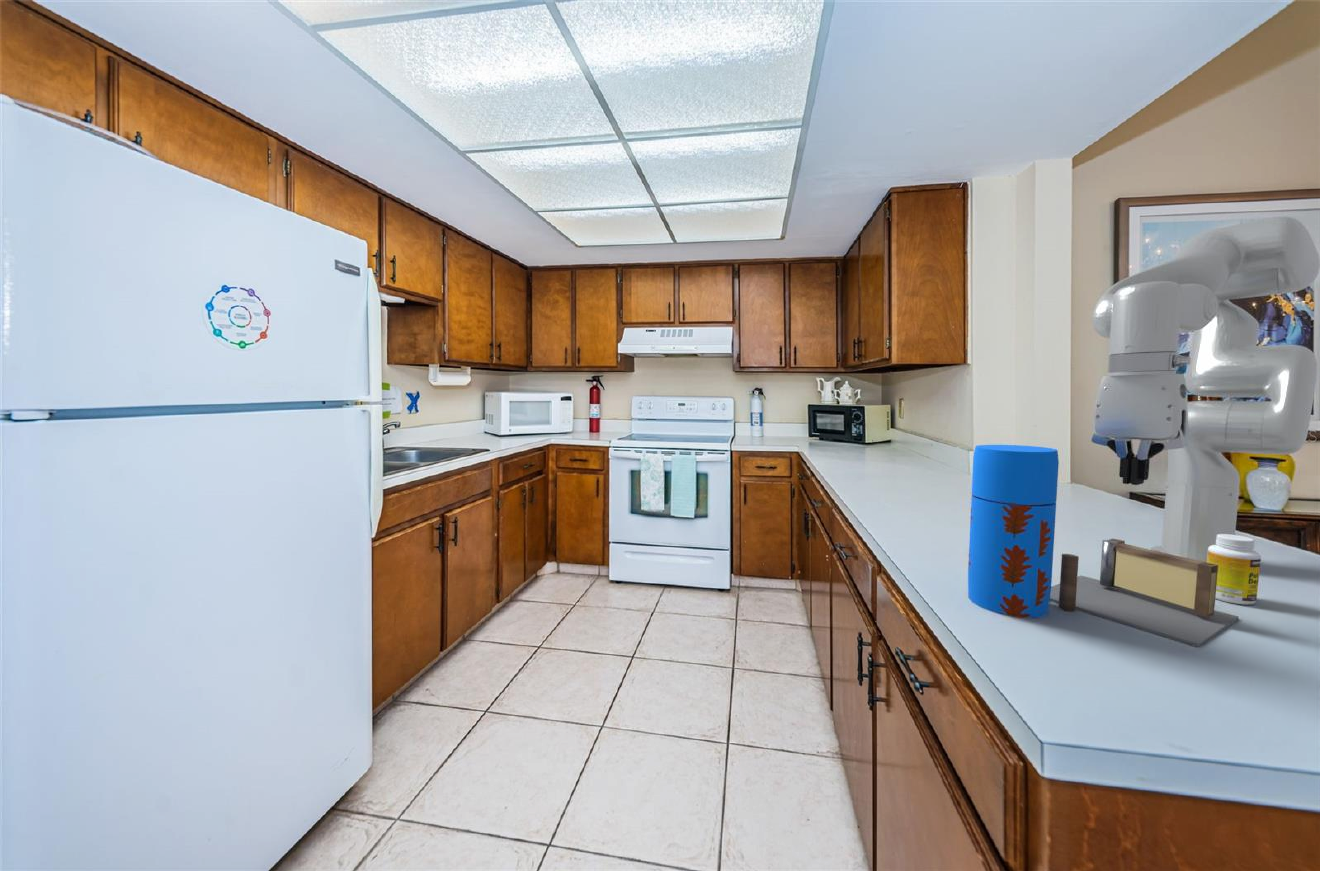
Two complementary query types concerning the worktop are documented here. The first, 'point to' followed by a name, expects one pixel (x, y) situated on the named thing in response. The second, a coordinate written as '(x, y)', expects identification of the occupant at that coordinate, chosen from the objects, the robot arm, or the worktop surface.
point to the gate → (1160, 576)
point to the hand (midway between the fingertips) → (1133, 483)
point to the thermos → (1012, 529)
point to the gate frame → (1134, 607)
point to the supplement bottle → (1235, 568)
